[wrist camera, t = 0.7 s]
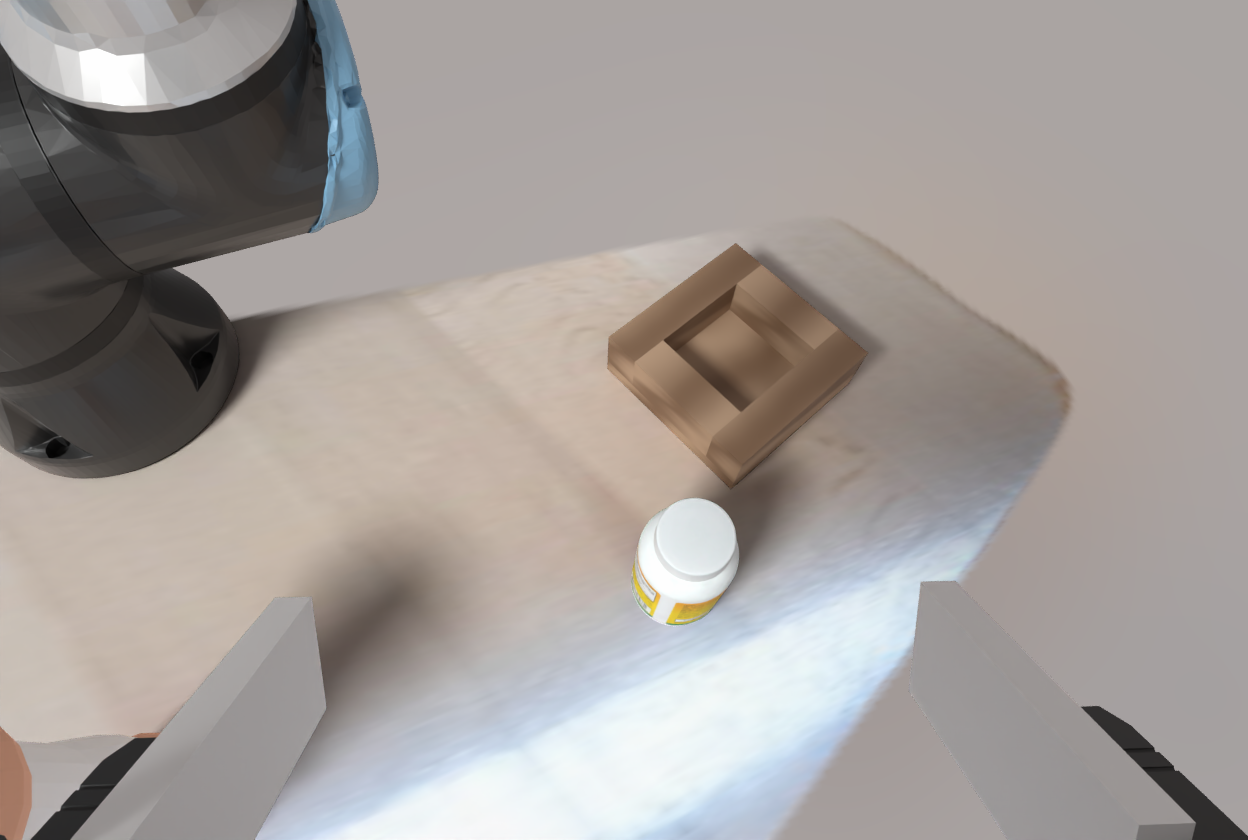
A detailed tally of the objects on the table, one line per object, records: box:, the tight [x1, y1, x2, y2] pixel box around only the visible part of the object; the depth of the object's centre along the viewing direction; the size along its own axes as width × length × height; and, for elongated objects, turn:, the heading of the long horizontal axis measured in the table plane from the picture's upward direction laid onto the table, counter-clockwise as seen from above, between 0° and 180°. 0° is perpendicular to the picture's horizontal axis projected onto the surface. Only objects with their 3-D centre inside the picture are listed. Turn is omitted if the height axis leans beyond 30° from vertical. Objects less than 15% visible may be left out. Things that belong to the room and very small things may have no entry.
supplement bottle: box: [631, 498, 739, 626], centre depth 40 cm, size 5×5×10 cm
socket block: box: [607, 243, 868, 489], centre depth 49 cm, size 12×12×4 cm
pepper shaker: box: [0, 727, 160, 840], centre depth 29 cm, size 7×7×19 cm
